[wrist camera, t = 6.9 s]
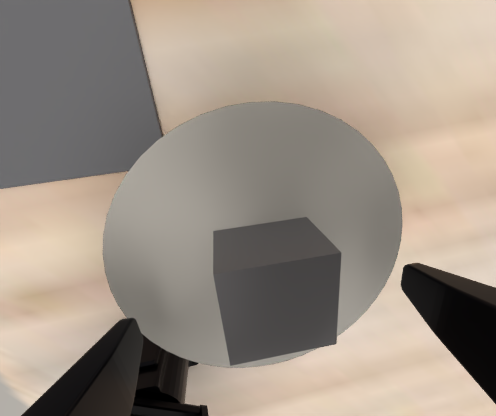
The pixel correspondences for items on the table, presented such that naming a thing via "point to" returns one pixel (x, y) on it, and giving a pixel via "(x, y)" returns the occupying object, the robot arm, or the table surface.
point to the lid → (252, 234)
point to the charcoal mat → (71, 91)
